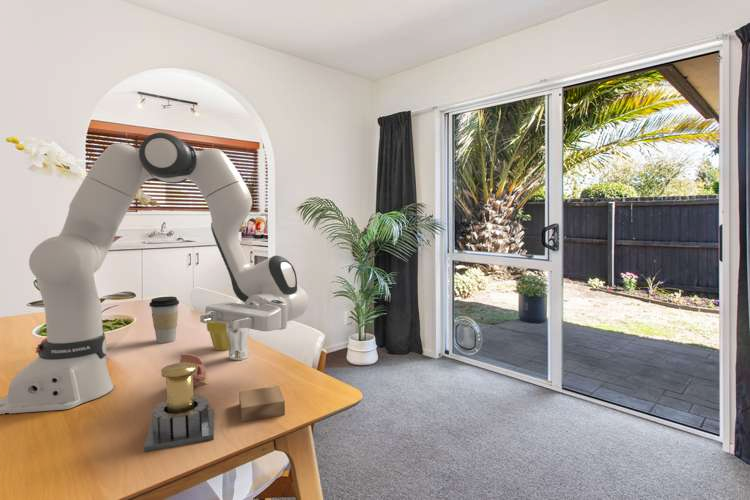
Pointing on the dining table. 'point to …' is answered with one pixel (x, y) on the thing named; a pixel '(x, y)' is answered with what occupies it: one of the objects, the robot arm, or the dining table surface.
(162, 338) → the coffee cup
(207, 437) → the hub
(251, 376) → the dining table surface
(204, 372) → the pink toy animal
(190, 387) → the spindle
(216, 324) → the plant pot
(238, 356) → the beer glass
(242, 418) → the stand
